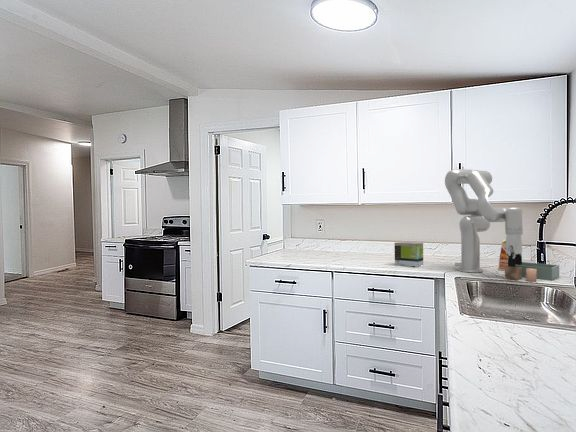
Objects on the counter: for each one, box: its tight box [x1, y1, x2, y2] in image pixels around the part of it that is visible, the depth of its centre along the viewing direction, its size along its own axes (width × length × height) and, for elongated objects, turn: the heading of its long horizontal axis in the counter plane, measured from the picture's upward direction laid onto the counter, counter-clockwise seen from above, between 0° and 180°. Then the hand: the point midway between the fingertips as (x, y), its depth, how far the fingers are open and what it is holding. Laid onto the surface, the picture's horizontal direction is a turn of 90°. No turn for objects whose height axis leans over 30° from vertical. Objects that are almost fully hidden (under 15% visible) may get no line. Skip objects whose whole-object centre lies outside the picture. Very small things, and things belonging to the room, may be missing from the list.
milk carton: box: [497, 238, 515, 272], centre depth 223 cm, size 9×9×20 cm
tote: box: [515, 261, 560, 281], centre depth 204 cm, size 20×14×6 cm
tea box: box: [394, 241, 424, 268], centre depth 245 cm, size 15×10×15 cm
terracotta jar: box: [525, 268, 538, 283], centre depth 191 cm, size 4×4×6 cm
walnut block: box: [504, 266, 523, 281], centre depth 197 cm, size 6×6×6 cm
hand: (515, 265), depth 196 cm, fingers open, 9 cm apart
